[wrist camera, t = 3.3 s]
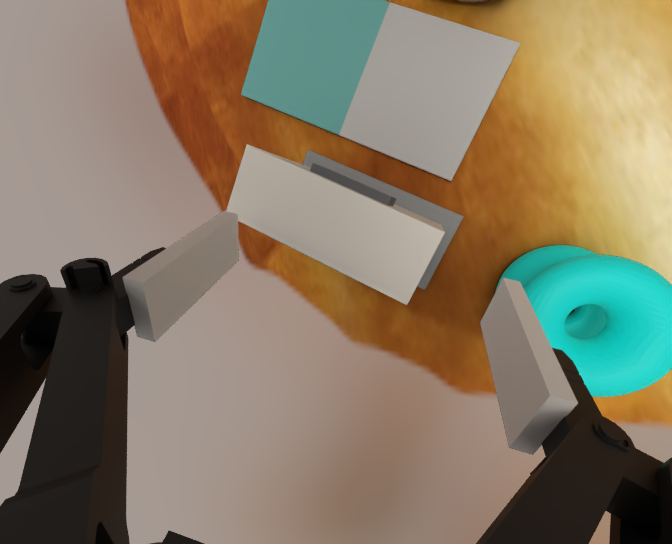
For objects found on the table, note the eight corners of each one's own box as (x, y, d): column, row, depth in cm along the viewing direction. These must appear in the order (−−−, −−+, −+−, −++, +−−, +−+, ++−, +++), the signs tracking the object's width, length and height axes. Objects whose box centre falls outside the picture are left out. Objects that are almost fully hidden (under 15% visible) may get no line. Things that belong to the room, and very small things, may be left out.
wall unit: (311, 151, 35) (235, 113, 21) (462, 216, 31) (482, 219, 18) (285, 220, 37) (202, 224, 24) (425, 288, 34) (418, 336, 20)
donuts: (490, 362, 23) (563, 233, 21) (474, 319, 33) (523, 227, 30) (640, 431, 21) (743, 298, 19) (577, 364, 31) (639, 269, 28)
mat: (281, -27, 32) (278, -33, 32) (518, 47, 28) (520, 43, 27) (245, 96, 36) (241, 94, 35) (450, 181, 31) (451, 180, 30)
